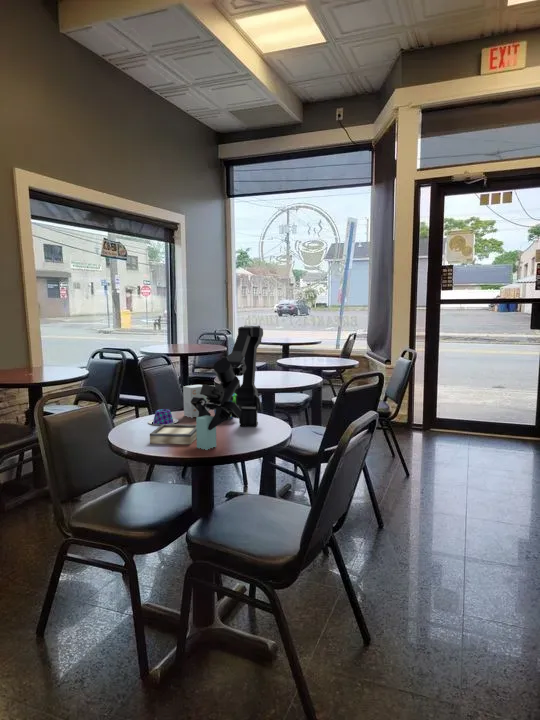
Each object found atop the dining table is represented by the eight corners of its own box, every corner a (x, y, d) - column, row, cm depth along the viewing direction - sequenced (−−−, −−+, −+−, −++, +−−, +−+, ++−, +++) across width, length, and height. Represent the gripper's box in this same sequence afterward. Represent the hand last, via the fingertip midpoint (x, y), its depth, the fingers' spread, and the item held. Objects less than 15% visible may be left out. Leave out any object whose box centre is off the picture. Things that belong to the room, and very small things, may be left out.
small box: (199, 413, 207) (198, 384, 206) (207, 415, 202) (207, 385, 201) (183, 416, 201) (182, 386, 200) (191, 418, 197) (191, 387, 196)
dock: (200, 433, 171) (200, 424, 171) (190, 444, 157) (190, 434, 157) (162, 433, 172) (162, 424, 172) (150, 443, 159) (149, 433, 158)
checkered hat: (163, 418, 198) (163, 406, 198) (184, 422, 192) (184, 409, 191) (141, 424, 188) (141, 411, 188) (163, 427, 182) (162, 414, 181)
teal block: (206, 444, 157) (206, 415, 156) (216, 446, 154) (216, 416, 154) (196, 447, 154) (196, 417, 153) (206, 450, 151) (206, 419, 150)
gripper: (193, 373, 160) (169, 410, 153) (235, 377, 149) (211, 417, 142) (210, 392, 168) (188, 429, 160) (251, 398, 156) (229, 438, 149)
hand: (203, 428), depth 152 cm, fingers open, 5 cm apart
